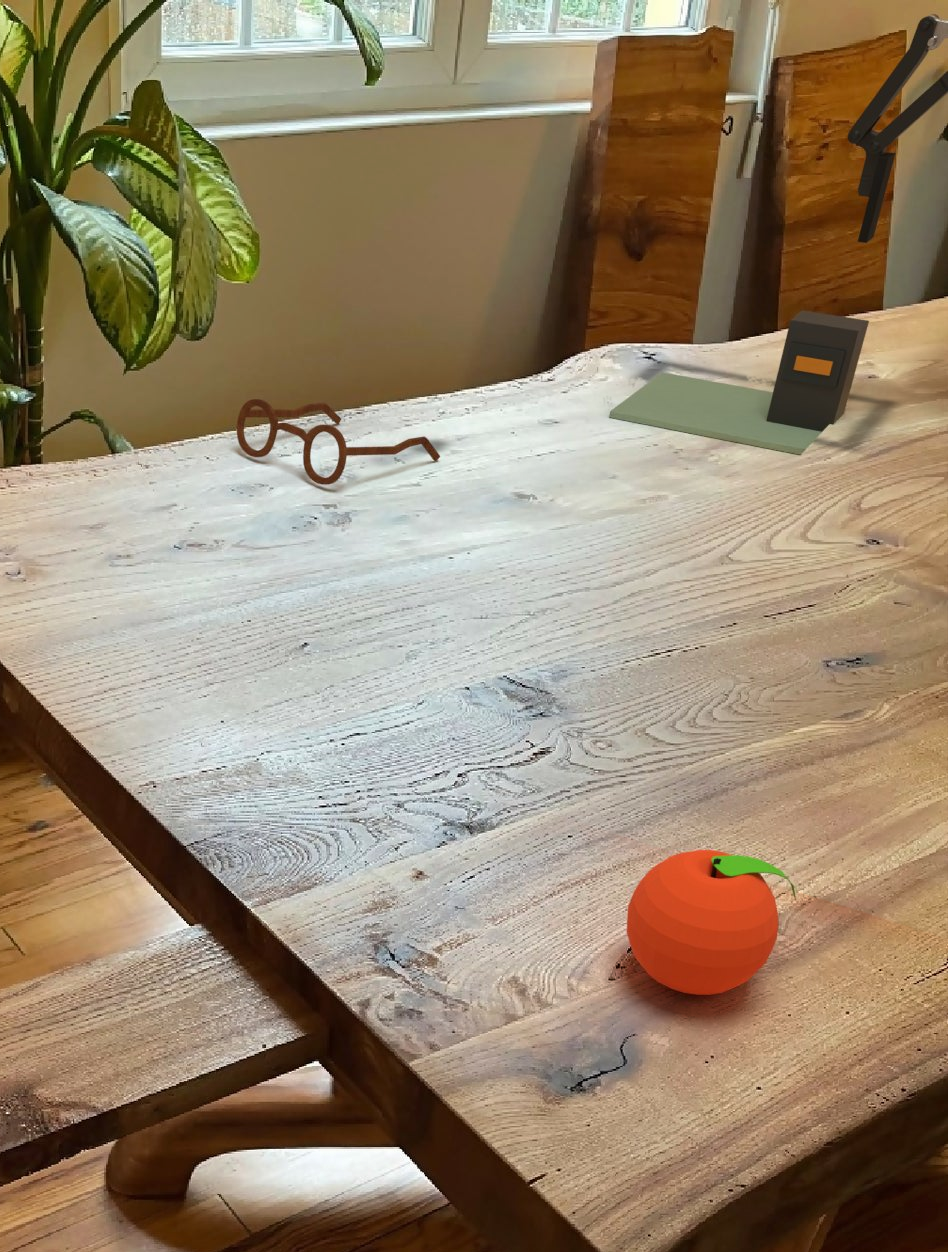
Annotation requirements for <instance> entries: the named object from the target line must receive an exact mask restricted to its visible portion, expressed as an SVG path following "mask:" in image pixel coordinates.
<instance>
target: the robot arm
mask: <svg viewBox="0 0 948 1252" xmlns="http://www.w3.org/2000/svg"><path fill="white" fill-rule="evenodd" d="M946 39H948V19H943V18H940V17H939V15H938V14H936V13H932V14H930V15H927V16H924V17H922V18H921V19H920V20H919V21H918V23H917V26H916V29H915V32H914V34H913V37H912V40H911V43H910V46H909V48H908V49H907V51H906V52H905V53H904V55H903V57H902V58H901V59H900V61H899V62H898V63H897V65H896V66H895V67H894V69H893V70H892V72H891V73H890V74H889V76H888V77H887V79H886V80H885V82H884V83H883V84H882V86H881V87H880V88H879V90H878V91H877V92H876V94H875V95H874V97H873V98H872V99H871V101H870V102H869V103H868V105H867V106H866V108H865V109H864V111H863V112H862V113H861V114H860V116H859V118H857V120H856V121H855V123H854V124H853V126H852V127H851V128H850V130H849V131H848V133H847V141H848V142H849V143H850V144H853V145H857V146H858V147H859V148H862V149H863V150H864V152H865V159H864V163H863V167H862V171H861V175H860V179H859V183H858V187H857V193H858V196H859V197H867V198H868V199H867V203H866V208H865V211H864V214H863V218H862V223H861V227H860V231H859V235H858V239H857V243H863V244H864V243H865V244H868V242H869V241H871V240H872V239H873V238H874V237H875V234H876V231H877V230H876V229H877V226H878V222H879V218H880V214H881V210H882V206H883V202H884V199H885V195H886V191H887V187H888V183H889V179H890V176H891V172H892V168H893V165H894V160H895V156H896V152H890V151H887V149H888V148H889V146H891V144H892V143H894V142H895V141H896V140H897V139H898V138H899V137H901V136H902V135H903V134H904V133H905V132H906V131H907V130H909V128H911V126H913V125H914V124H915V123H916V122H917V121H918V120H919V119H921V118H922V117H923V116H924V115H925V114H926V113H928V111H930V109H931V108H933V107H934V106H935V105H936V104H937V103H938V102H939V101H942V99H943V98H944V97H945V96H946V95H947V94H948V70H947V71H945V73H944V74H942V75H941V76H940V77H939V78H938V79H937V80H936V81H935V82H934V83H932V85H931V86H929V88H927V89H926V90H925V91H924V92H923V93H922V94H920V96H918V97H917V99H915V100H914V101H913V102H912V103H911V104H909V105H908V106H907V107H906V108H905V109H904V110H903V111H902V112H901V113H900V114H898V116H896V117H895V118H894V119H893V120H892V121H891V122H889V124H887V125H886V126H885V127H884V128H883V129H882V130H881V131H880V132H878V131H876V130H875V129H874V128H875V126H876V125H877V124H878V122H879V121H880V120H881V119H882V117H883V115H884V114H885V113H886V112H887V110H888V109H889V107H890V106H891V104H892V103H893V102H894V100H896V98H897V96H898V95H899V94H900V92H901V91H902V90H903V88H904V87H905V86H906V84H907V83H908V82H909V80H910V79H911V77H913V75H914V74H915V72H916V71H917V70H918V68H919V67H920V65H921V64H922V62H923V61H924V59H925V58H926V56H927V55H928V53H929V52H930V51H933V50H936V49H937V48H939V47H940V46H941V45H942V44H943V42H944V41H945V40H946Z"/></svg>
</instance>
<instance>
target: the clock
mask: <svg viewBox="0 0 948 1252" xmlns="http://www.w3.org/2000/svg"><path fill="white" fill-rule="evenodd" d="M869 322H870V320H867V319H860V318H854V317H847V316H842V315H834V314H830V313H829V314H828V313H822V312H815V311H809V310H804V309H803V310H801V311H800V312H798V313H797V314H796V315H795V316H794V317H792V318H791V319H790V320H789V324H788V328H787V333H786V337H785V341H784V345H783V350H782V353H781V357H780V362H779V366H778V370H777V374H776V379H775V382H774V387H773V391H772V392H773V395H772V399H771V403H770V407H769V411H768V415H767V420H766V421H768V422H773V423H778V424H784V425H789V426H794V427H799V428H805V429H810V430H815V431H821V432H822V433H823V432H824V431H825V430H826V429H827V427H829V425H835V424H836V422H838V421H839V419H840V418H841V417H842V416H843V415H844V414H845V412H846V408H847V406H846V405H847V403H848V401H849V396H850V392H851V389H852V385H853V381H854V378H855V375H856V370H857V367H858V364H859V360H860V356H861V353H862V349H863V345H864V341H865V337H866V334H867V330H868V327H869V324H870V323H869Z"/></svg>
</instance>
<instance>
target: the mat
mask: <svg viewBox="0 0 948 1252" xmlns="http://www.w3.org/2000/svg"><path fill="white" fill-rule="evenodd" d="M772 395H773V391H769V390H763V389H758V388H751V387H746V386H741V385H735V384H729V383H724V382H719V381H713V380H707V379H703V378H697V377H690V376H685V375H681V374H674V373H669V372H664V371H663V372H660V373H659V374H658V375H657V376H654V378H653V379H651V380H650V381H649V382H646V384H644V385H643V386H642V387H640V388H639V389H637V391H635V392H634V393H632V394H630V396H628V397H627V398H625V399H624V400H623V401H622V402H620V403H619V404H618V405H616V406H615V407H613V408H612V409H610V411H609V415H608V418H611V419H615V420H620V421H624V422H625V421H627V422H632V423H636V424H642V425H646V426H652V427H657V428H663V429H667V430H671V431H678V432H682V433H686V434H693V435H698V436H703V437H707V438H712V439H718V440H722V441H728V442H733V443H739V444H744V445H748V446H754V447H759V448H763V449H767V450H774V451H779V452H785V453H789V454H795V455H800V456H802V454H803V453H804V452H805V451H806V450H807V449H808V448H809V447H810V446H811V445H812V444H813V443H814V441H816V439H817V438H818V437H820V436H821V434H822V433H823V432H821V431H815V430H810V429H805V428H799V427H794V426H789V425H784V424H778V423H773V422H768V421H766V420H767V415H768V411H769V407H770V403H771V399H772ZM847 406H848V405H847V404H846V407H847Z"/></svg>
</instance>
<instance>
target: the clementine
mask: <svg viewBox="0 0 948 1252" xmlns="http://www.w3.org/2000/svg"><path fill="white" fill-rule="evenodd" d="M761 874H772V875H776V876H779V877H782V878H784V879H786V880H787V881H788V882H789V884H790V887H791V891H792V893H793V897H794V900H797V896H796V890H795V885H794V884H793V883H792V882H791V880H790V879H789V878H788V876H787V875H786V874H785V873H784V872H783V871H782V870H781V869H779V868H778V867H776V866H774V865H773V864H771V863H769V862H767V861H764V860H762V859H759V858H755V857H751V856H748V855H747V856H745V855H739V854H736V855H735V854H730V853H727V852H724V851H721V850H714V849H698V850H689V851H685V852H679V853H676V854H674V855H671V856H669V857H667V858H666V859H664V860H663V861H661V862H659V863H657V864H656V865H655V866H654V867H652V868H651V869H649V871H647V873H646V874H645V875H644V876H643V877H642V878H641V880H640V881H639V882H638V884H637V885H636V887H635V888H634V891H633V893H632V895H631V898H630V900H629V902H628V905H627V917H626V918H627V919H626V935H627V938H628V942H629V946H630V948H631V951H632V954H633V957H634V958H635V959H636V960H637V962H638V963H639V964H640V966H641V967H642V969H644V970H645V972H646V973H647V974H648V976H650V977H651V979H654V981H656V982H657V983H659V984H661V985H663V986H665V987H667V988H669V989H671V990H673V991H676V992H681V993H684V994H690V995H696V996H697V995H699V996H703V995H707V996H708V995H709V996H710V995H711V996H712V995H716V994H721V993H725V992H727V991H729V990H732V989H734V988H736V987H738V986H740V985H743V984H745V983H747V982H748V981H749V980H750V979H751V978H752V977H753V976H754V975H755V974H757V973H758V971H759V970H760V969H761V968H763V967H764V966H765V965H766V963H767V961H768V959H769V957H770V955H771V953H772V951H773V949H774V947H775V944H776V942H777V940H778V933H779V924H780V921H779V911H778V907H777V902H776V898H775V895H774V894H773V892H772V890H771V889H770V886H769V885H768V883H767V881H766V880H765V878H764V877H763V876H762V875H761Z"/></svg>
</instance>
